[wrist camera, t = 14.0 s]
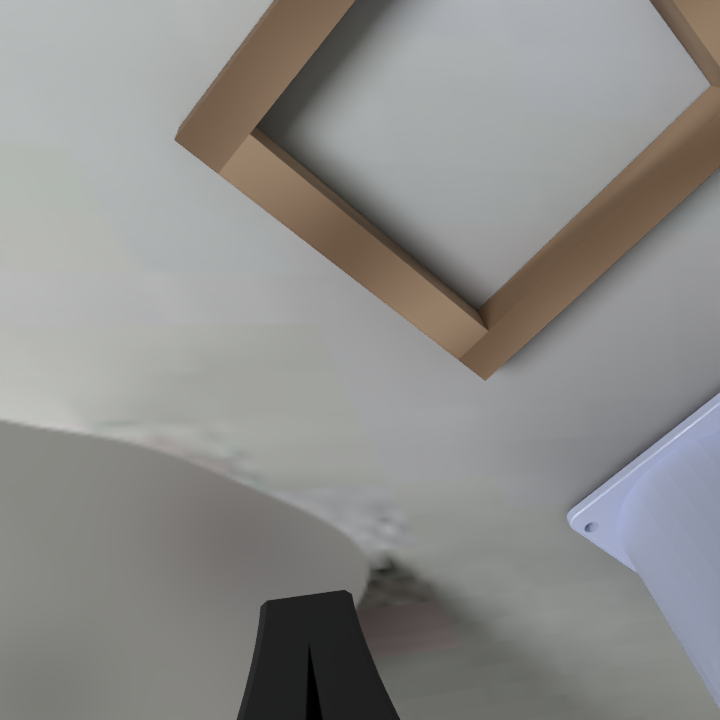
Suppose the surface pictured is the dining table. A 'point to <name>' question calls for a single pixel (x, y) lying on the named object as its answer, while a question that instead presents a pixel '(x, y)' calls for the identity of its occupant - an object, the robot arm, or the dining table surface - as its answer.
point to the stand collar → (390, 262)
